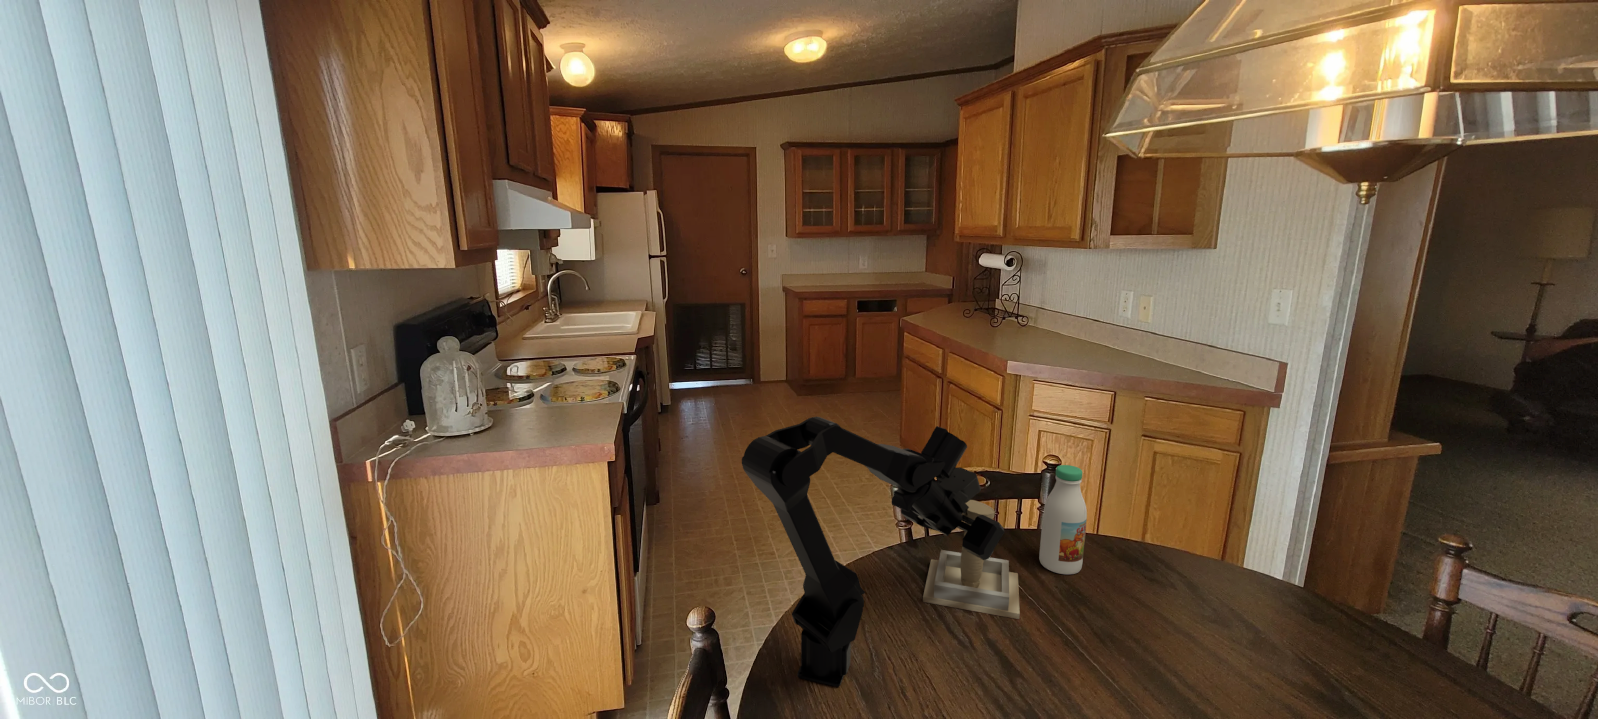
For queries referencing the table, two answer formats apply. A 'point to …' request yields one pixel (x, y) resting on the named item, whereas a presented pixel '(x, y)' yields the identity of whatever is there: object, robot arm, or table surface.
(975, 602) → the board
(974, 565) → the handle
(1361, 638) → the table surface
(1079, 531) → the milk bottle
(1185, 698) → the table surface
